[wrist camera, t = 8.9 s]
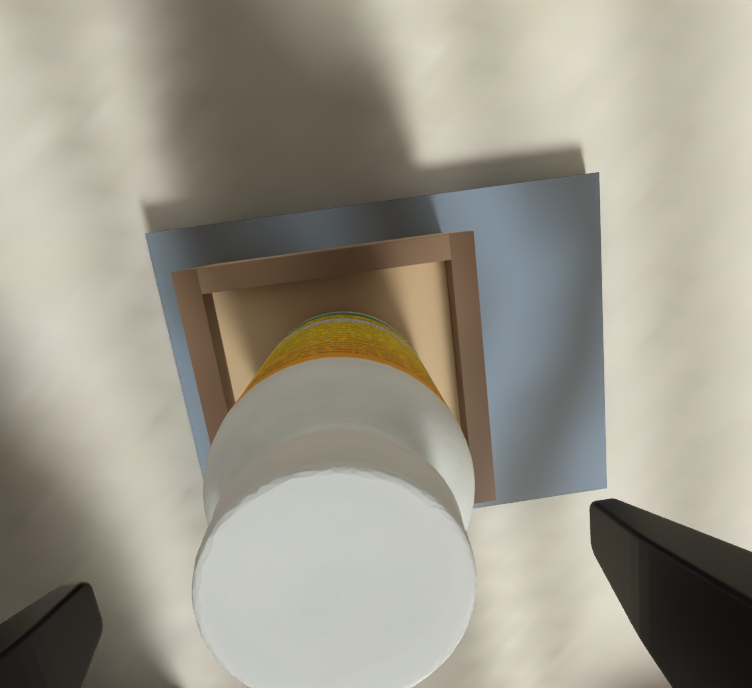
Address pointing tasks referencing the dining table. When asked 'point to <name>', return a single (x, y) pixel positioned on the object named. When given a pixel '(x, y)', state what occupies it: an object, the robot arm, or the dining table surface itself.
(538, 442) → the base
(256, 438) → the supplement bottle
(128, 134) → the dining table surface
